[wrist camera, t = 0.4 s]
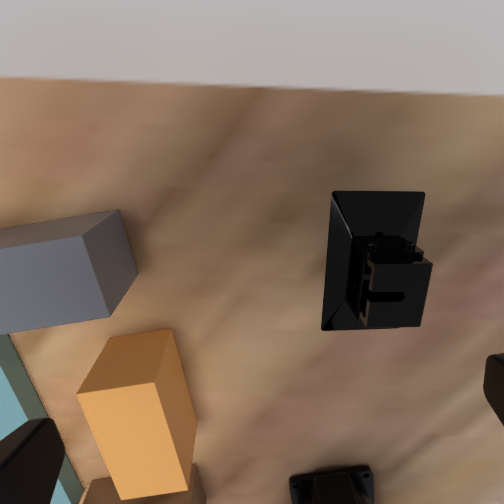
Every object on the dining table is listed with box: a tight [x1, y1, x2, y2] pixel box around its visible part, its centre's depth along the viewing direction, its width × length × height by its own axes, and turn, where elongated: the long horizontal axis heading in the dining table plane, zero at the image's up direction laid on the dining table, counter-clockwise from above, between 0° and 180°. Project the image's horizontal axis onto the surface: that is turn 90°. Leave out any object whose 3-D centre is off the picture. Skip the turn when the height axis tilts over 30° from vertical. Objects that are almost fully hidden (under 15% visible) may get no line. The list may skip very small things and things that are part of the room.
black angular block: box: [321, 191, 433, 331], centre depth 19 cm, size 12×7×5 cm, turn 0°
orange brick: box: [76, 328, 197, 500], centre depth 21 cm, size 8×4×5 cm, turn 9°
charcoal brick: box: [0, 209, 138, 335], centre depth 17 cm, size 8×4×5 cm, turn 99°
